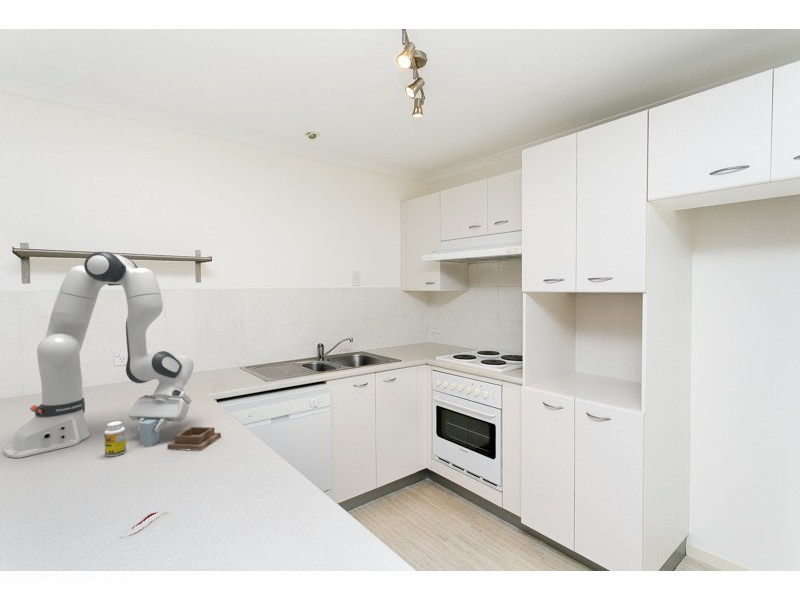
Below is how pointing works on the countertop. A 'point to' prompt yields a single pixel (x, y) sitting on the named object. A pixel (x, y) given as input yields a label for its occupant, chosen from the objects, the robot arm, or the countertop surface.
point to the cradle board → (194, 438)
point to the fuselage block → (148, 432)
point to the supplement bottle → (114, 439)
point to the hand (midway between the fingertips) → (147, 431)
